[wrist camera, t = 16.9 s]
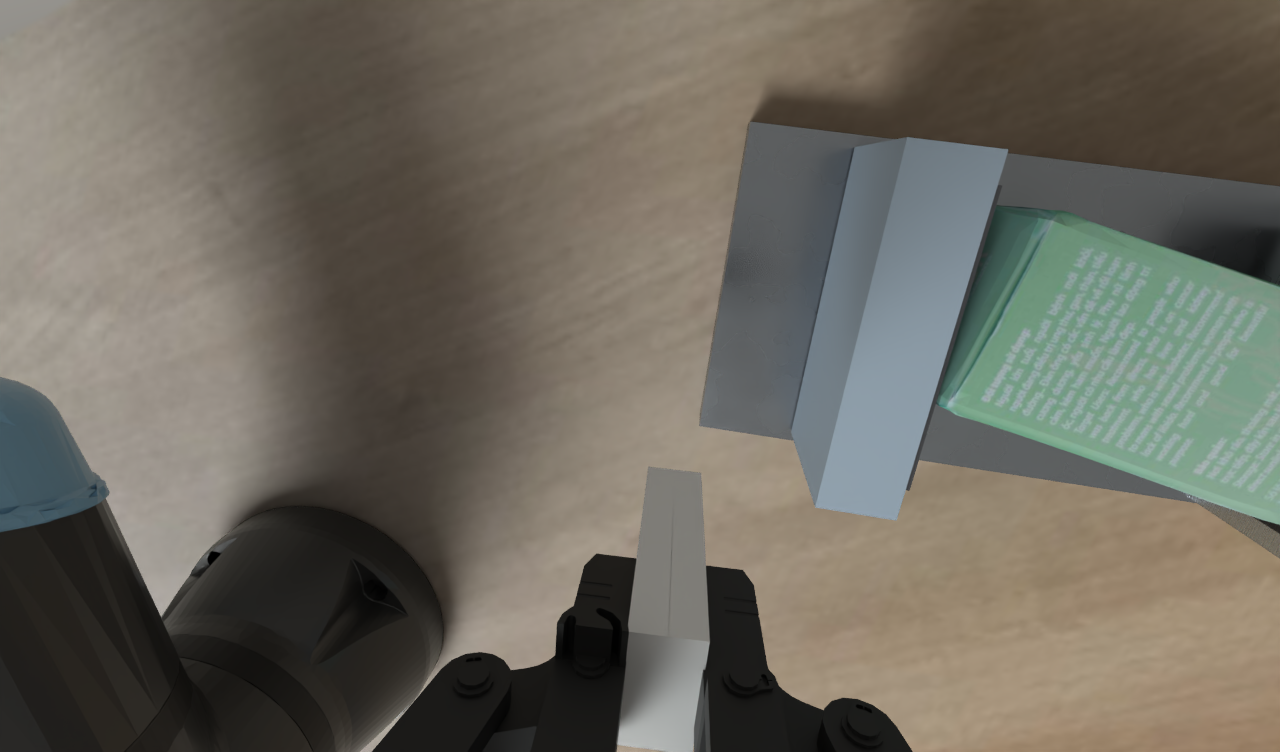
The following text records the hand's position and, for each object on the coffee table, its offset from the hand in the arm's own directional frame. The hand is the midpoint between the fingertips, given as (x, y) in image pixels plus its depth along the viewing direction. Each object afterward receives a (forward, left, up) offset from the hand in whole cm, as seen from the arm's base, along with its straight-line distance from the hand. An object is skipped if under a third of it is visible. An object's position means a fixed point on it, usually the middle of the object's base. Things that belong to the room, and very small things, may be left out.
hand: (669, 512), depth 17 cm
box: (+16, +5, -13) cm, 21 cm away
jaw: (+7, +5, -12) cm, 15 cm away
